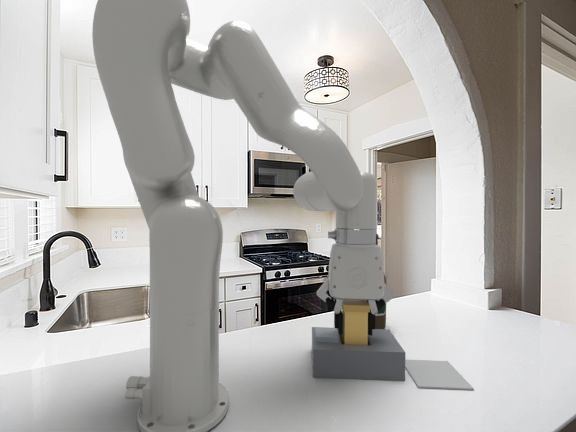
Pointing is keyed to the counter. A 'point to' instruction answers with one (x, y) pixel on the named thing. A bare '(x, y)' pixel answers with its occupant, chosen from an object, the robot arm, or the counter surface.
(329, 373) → the grey block with hole
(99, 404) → the counter surface
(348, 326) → the plug
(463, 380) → the mat
